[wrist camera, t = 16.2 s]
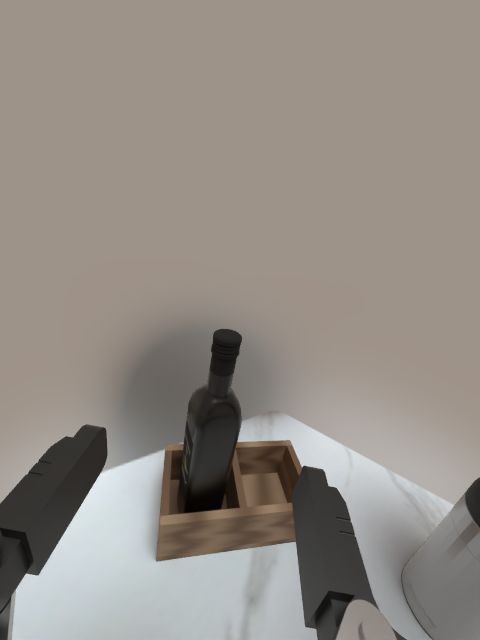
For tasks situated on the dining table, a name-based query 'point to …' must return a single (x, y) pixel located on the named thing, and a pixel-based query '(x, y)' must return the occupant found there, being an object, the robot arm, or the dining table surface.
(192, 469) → the wine bottle
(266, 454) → the bottle rack
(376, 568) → the dining table surface
